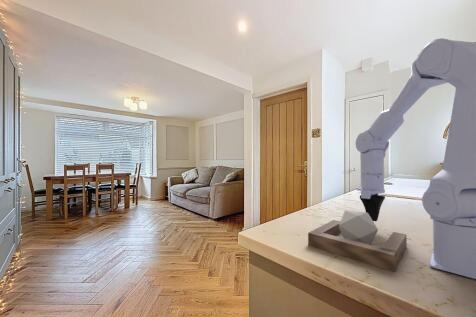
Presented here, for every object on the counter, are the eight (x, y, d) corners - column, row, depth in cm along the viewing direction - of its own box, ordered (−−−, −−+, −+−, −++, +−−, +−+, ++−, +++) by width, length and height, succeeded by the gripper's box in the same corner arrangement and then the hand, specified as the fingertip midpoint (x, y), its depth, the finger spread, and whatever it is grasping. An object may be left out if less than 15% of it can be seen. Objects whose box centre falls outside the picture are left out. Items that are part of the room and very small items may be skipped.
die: (376, 243, 53) (352, 209, 58) (394, 237, 46) (365, 199, 50) (348, 256, 52) (326, 220, 57) (362, 252, 45) (336, 211, 50)
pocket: (406, 246, 49) (406, 234, 49) (394, 271, 38) (393, 255, 38) (333, 230, 61) (333, 219, 61) (308, 244, 50) (308, 232, 50)
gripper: (363, 172, 68) (364, 213, 68) (348, 174, 58) (349, 222, 58) (389, 173, 63) (390, 217, 63) (378, 175, 53) (379, 228, 53)
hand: (372, 220), depth 60 cm, fingers closed
